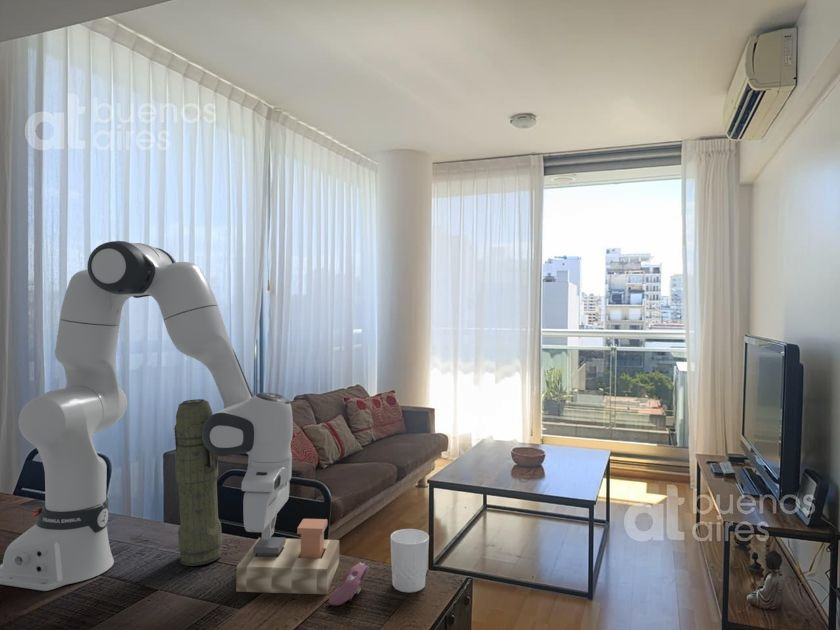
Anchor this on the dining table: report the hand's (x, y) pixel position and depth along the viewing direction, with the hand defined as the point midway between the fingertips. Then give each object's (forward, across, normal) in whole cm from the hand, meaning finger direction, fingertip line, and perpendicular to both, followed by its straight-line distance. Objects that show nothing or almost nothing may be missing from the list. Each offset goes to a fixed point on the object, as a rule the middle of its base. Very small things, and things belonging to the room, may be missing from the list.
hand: (267, 536), depth 117 cm
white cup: (+8, +2, +30) cm, 31 cm away
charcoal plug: (+8, 0, +1) cm, 8 cm away
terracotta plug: (+4, 0, +10) cm, 10 cm away
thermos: (+8, -7, -17) cm, 20 cm away
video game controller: (+8, +7, +19) cm, 22 cm away
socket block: (+8, 0, +5) cm, 10 cm away
